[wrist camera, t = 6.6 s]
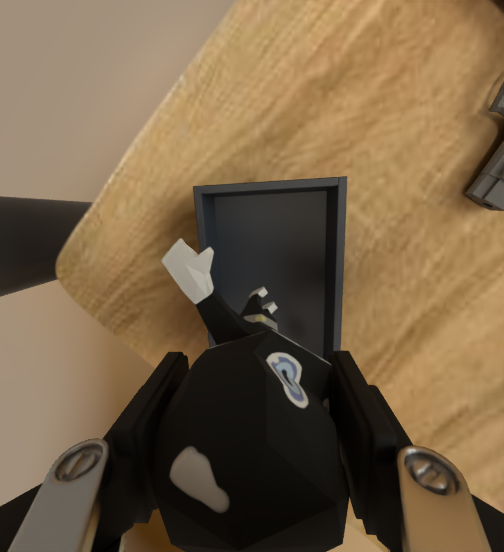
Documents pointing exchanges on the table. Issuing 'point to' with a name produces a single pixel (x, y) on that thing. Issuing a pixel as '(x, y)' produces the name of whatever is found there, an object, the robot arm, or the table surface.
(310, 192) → the dark grey open box
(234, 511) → the toy
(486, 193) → the handgun
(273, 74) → the table surface
